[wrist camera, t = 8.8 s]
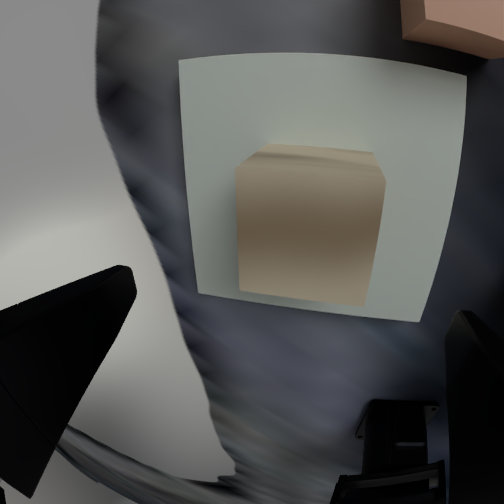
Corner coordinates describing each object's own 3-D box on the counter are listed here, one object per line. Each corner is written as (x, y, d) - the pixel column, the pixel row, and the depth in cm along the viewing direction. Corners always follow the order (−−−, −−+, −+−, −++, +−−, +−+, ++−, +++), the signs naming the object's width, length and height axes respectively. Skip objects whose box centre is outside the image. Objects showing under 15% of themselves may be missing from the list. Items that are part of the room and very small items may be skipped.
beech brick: (361, 247, 16) (364, 307, 12) (267, 236, 17) (239, 290, 13) (372, 152, 14) (386, 180, 9) (267, 143, 15) (234, 167, 11)
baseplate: (415, 307, 18) (419, 322, 17) (207, 280, 22) (198, 293, 20) (456, 77, 12) (466, 76, 10) (191, 61, 15) (178, 60, 14)
